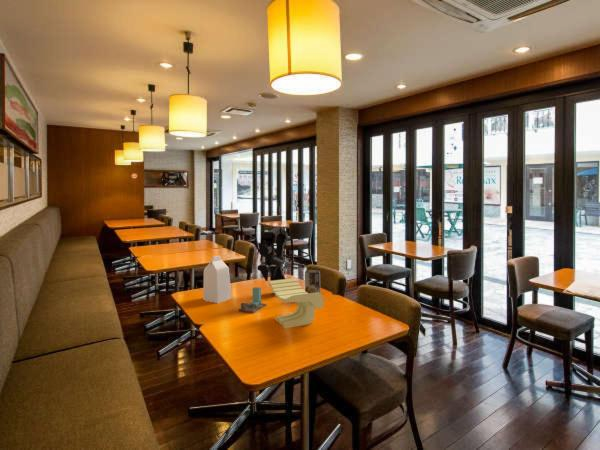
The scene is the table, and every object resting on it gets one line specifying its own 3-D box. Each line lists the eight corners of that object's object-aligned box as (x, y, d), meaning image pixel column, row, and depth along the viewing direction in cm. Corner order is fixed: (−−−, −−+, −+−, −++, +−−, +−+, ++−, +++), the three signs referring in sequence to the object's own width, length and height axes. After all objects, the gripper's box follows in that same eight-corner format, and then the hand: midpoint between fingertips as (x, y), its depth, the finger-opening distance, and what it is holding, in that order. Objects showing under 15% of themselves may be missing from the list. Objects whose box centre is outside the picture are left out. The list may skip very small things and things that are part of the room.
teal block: (254, 302, 209) (254, 287, 208) (261, 303, 208) (260, 287, 207) (246, 307, 201) (246, 291, 200) (253, 308, 199) (252, 291, 198)
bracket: (252, 303, 211) (251, 296, 211) (265, 305, 208) (265, 298, 207) (238, 311, 198) (238, 303, 198) (253, 313, 195) (253, 305, 194)
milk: (217, 303, 213) (216, 258, 210) (203, 300, 218) (201, 257, 216) (231, 298, 223) (230, 255, 221) (217, 295, 229) (216, 254, 226)
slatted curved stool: (323, 328, 172) (323, 291, 170) (292, 334, 166) (291, 295, 164) (297, 310, 199) (297, 277, 198) (269, 314, 193) (269, 281, 191)
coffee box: (320, 296, 226) (320, 270, 224) (320, 299, 219) (320, 272, 218) (305, 295, 226) (305, 269, 225) (304, 298, 220) (304, 272, 219)
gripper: (274, 256, 201) (275, 284, 203) (288, 251, 218) (289, 277, 220) (256, 255, 206) (257, 282, 207) (271, 250, 223) (272, 275, 224)
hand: (269, 279), depth 214 cm, fingers open, 8 cm apart
